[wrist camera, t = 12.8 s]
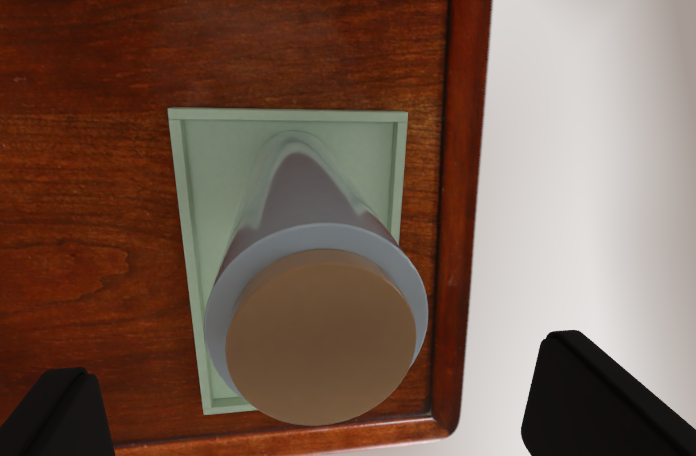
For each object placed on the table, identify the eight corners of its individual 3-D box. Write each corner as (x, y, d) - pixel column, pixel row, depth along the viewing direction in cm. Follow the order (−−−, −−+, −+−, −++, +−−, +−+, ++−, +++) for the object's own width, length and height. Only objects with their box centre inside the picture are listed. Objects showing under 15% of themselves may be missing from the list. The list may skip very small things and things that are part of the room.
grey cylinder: (282, 113, 32) (289, 184, 9) (350, 160, 34) (488, 313, 11) (237, 181, 33) (148, 391, 10) (305, 223, 35) (350, 473, 13)
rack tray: (172, 107, 31) (166, 108, 29) (402, 110, 33) (408, 112, 32) (206, 403, 40) (203, 415, 38) (384, 386, 43) (387, 397, 41)
